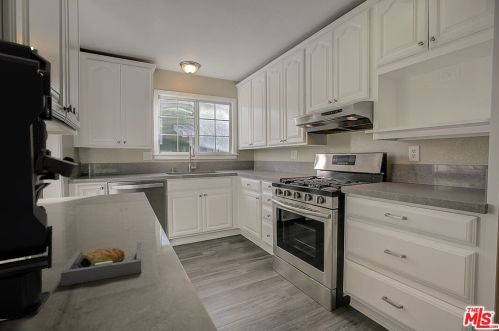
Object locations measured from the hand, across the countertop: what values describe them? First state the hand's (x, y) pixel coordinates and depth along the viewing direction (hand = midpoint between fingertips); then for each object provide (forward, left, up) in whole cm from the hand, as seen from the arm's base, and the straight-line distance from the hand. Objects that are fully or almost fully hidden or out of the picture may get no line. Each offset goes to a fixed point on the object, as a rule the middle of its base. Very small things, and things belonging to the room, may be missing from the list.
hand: (28, 216), depth 51 cm
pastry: (-2, -14, -12) cm, 18 cm away
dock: (-3, -15, -12) cm, 19 cm away
